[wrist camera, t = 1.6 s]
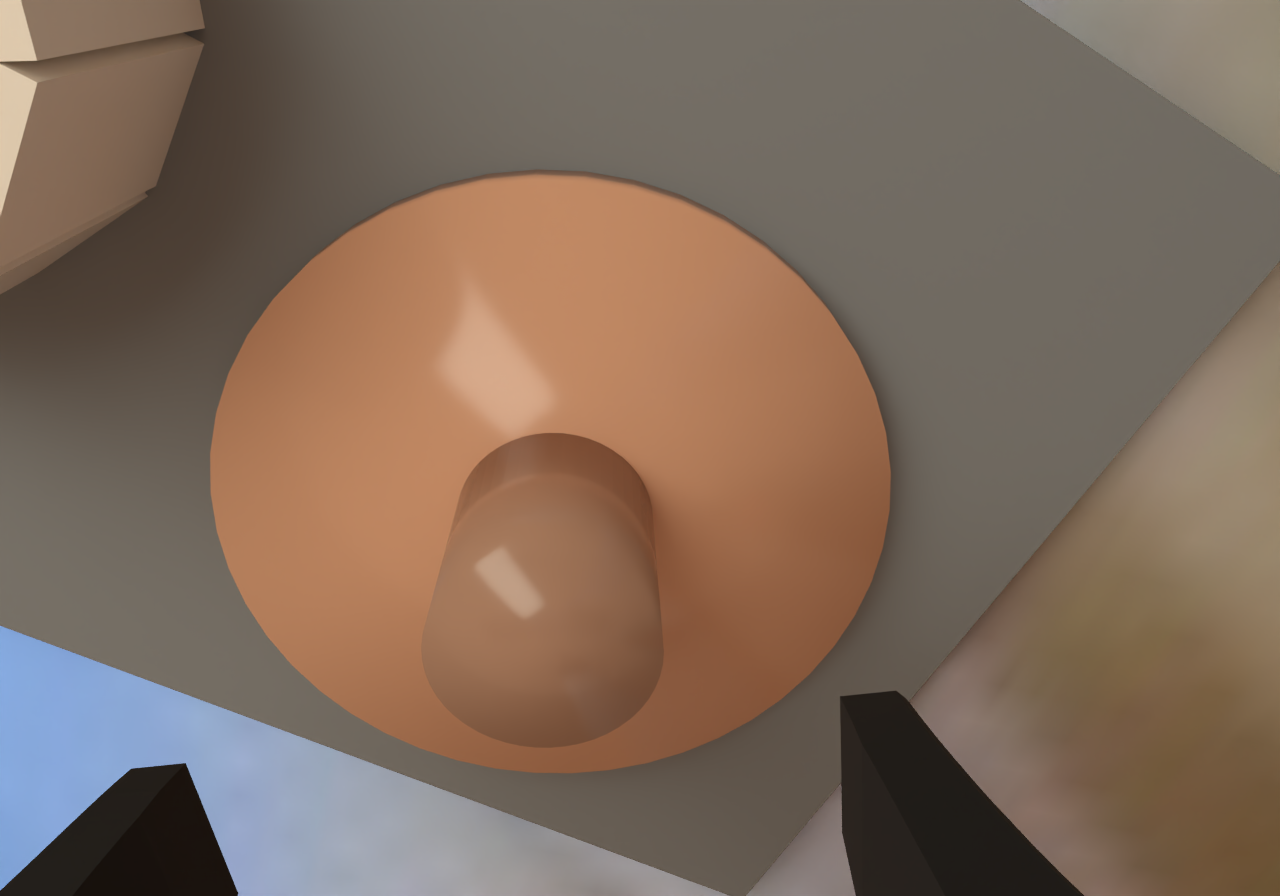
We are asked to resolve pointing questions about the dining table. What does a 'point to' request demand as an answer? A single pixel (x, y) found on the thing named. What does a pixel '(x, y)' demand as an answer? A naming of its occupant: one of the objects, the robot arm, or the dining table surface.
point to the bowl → (84, 117)
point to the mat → (712, 176)
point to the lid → (550, 472)
